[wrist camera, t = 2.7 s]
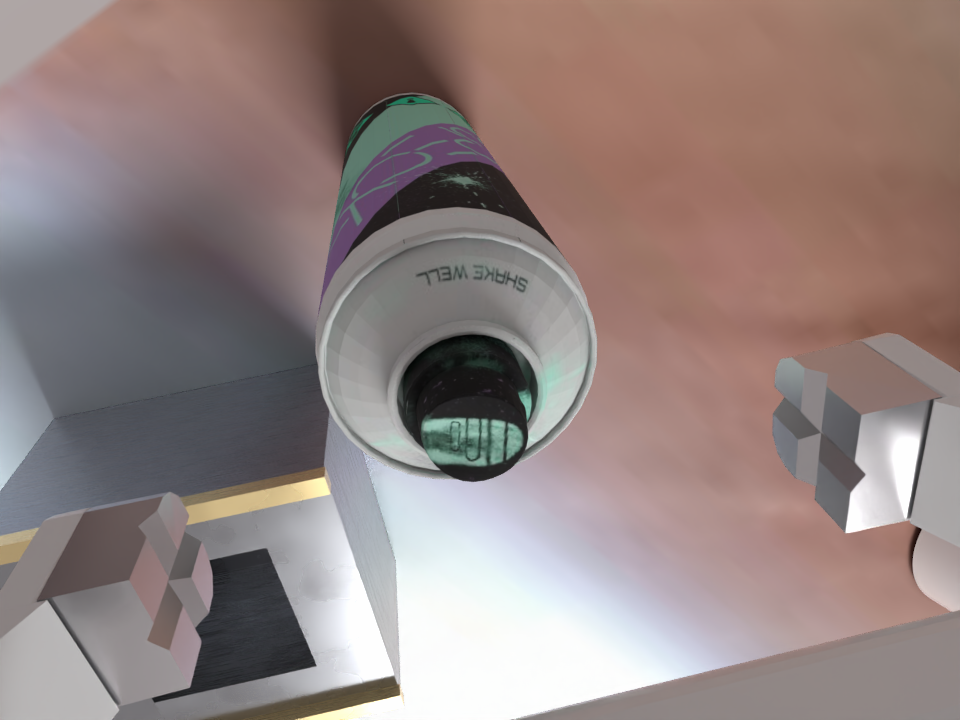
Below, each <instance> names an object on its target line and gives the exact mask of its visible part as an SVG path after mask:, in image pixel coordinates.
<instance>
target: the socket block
mask: <svg viewBox="0 0 960 720" xmlns="http://www.w3.org/2000/svg"><path fill="white" fill-rule="evenodd" d="M166 492H172V493H174V494H176V495H178V496H179V497H180V499H181V501H182V503H183V505H184V507H185V508H186V510H187V512H188V514H189V518H188V522H187V525H186V528H185V531H184V532H186V533H188V534H189V535H191V536H193V537H195V538H196V539H198V540H200V541H202V543H203V546H204V548H205V550H206V552H207V554H208V557H209V561H210V565H211V569H212V576H213V597H212V601H211V606H210V610H209V613H208V614H207V616H206V617H205V618H204V619H203V620H202V621H201V622H200V623H199V624H198V625H197V626H196V627H195V629H196V631H197V633H198V635H199V637H200V639H201V641H202V643H201V647H200V651H199V654H198V658H197V662H196V666H195V670H194V674H193V678H192V682H191V686H190V688H187V689H183V690H179V691H176V692H172V693H168V694H164V695H160V696H157V697H153V698H149V699H145V700H142V701H138V702H134V703H130V704H126V705H123V706H119V707H118V708H119V711H118V713H117V714H116V715H115V716H114V718H113V719H112V720H349V719H354V718H358V717H362V716H367V715H371V714H376V713H380V712H384V711H389V710H393V709H397V708H402V707H404V698H403V692H402V689H401V687H400V662H399V636H398V610H397V584H396V560H395V557H394V554H393V551H392V547H391V544H390V541H389V537H388V534H387V531H386V527H385V524H384V521H383V518H382V514H381V511H380V508H379V504H378V501H377V498H376V495H375V491H374V488H373V485H372V481H371V478H370V475H369V472H368V468H367V465H366V462H365V458H364V455H363V452H362V450H361V449H360V448H359V447H357V446H356V445H355V444H354V443H353V442H352V441H351V440H350V439H348V438H347V436H346V435H345V434H344V432H343V431H342V430H341V428H340V427H339V426H338V424H337V423H336V422H335V420H334V419H333V417H332V415H331V413H330V411H329V408H328V406H327V404H326V402H325V400H324V398H323V394H322V389H321V384H320V379H319V374H318V364H315V365H311V366H306V367H301V368H296V369H291V370H286V371H282V372H277V373H272V374H267V375H262V376H257V377H252V378H248V379H243V380H238V381H233V382H228V383H223V384H219V385H214V386H209V387H204V388H199V389H194V390H190V391H185V392H180V393H175V394H170V395H165V396H161V397H156V398H151V399H146V400H141V401H136V402H132V403H127V404H122V405H117V406H112V407H107V408H103V409H98V410H93V411H88V412H83V413H78V414H74V415H69V416H64V417H59V418H54V420H53V421H52V422H51V424H50V425H49V427H48V428H47V429H46V431H45V432H44V433H43V435H42V436H41V437H40V439H39V440H38V441H37V443H36V444H35V445H34V447H33V448H32V449H31V451H30V452H29V453H28V455H27V456H26V457H25V459H24V460H23V461H22V463H21V464H20V466H19V467H18V468H17V470H16V471H15V472H14V474H13V475H12V476H11V478H10V479H9V480H8V482H7V483H6V484H5V486H4V487H3V488H2V490H1V491H0V590H1V589H2V587H3V586H4V584H5V582H6V581H7V579H8V578H9V576H10V574H11V573H12V571H13V569H14V568H15V566H16V565H17V563H18V561H19V560H20V558H21V556H22V555H23V553H24V552H25V550H26V548H27V547H28V545H29V544H30V542H31V540H32V539H33V537H34V535H35V534H36V532H37V531H38V529H39V527H40V526H41V524H42V522H43V521H44V520H46V519H48V518H50V517H52V516H54V515H58V514H63V513H67V512H71V511H76V510H80V509H85V508H93V507H95V506H100V505H105V504H110V503H115V502H120V501H126V500H131V499H136V498H141V497H146V496H151V495H156V494H161V493H166Z"/></svg>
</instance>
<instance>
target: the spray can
mask: <svg viewBox="0 0 960 720" xmlns="http://www.w3.org/2000/svg"><path fill="white" fill-rule="evenodd" d="M315 353H316V358H317V363H318V374H319V379H320V384H321V389H322V394H323V398H324V400H325V402H326V404H327V406H328V408H329V411H330V413H331V415H332V417H333V419H334V420H335V422H336V423H337V424H338V426H339V427H340V428H341V430H342V431H343V432H344V434H345V435H346V436H347V438H348V439H350V440H351V441H352V442H353V443H354V444H355V445H356V446H357V447H359V448H360V449H361V450H362V451H363V452H364V453H365V454H367V455H369V456H370V457H372V458H374V459H376V460H377V461H379V462H381V463H382V464H384V465H386V466H388V467H391V468H393V469H396V470H399V471H402V472H404V473H407V474H410V475H416V476H421V477H426V478H432V479H458V480H462V481H470V482H476V481H484V480H487V479H491V478H494V477H496V476H499V475H501V474H503V473H505V472H506V471H508V470H509V469H511V468H512V467H513V466H514V465H516V464H518V463H520V462H522V461H524V460H526V459H528V458H530V457H532V456H533V455H535V454H536V453H537V452H539V451H540V450H542V449H543V448H545V447H546V446H547V445H549V444H550V443H551V442H552V441H553V440H554V439H555V438H556V437H557V436H558V435H559V434H560V433H561V432H562V431H563V430H564V429H565V428H566V427H567V426H568V425H569V424H570V422H571V421H572V419H573V418H574V416H575V415H576V414H577V412H578V411H579V409H580V408H581V406H582V404H583V402H584V400H585V398H586V395H587V393H588V391H589V389H590V387H591V384H592V380H593V375H594V371H595V367H596V362H597V336H596V331H595V326H594V321H593V317H592V313H591V311H590V309H589V307H588V304H587V299H586V295H585V293H584V291H583V289H582V286H581V284H580V282H579V280H578V278H577V275H576V273H575V272H574V270H573V269H572V268H571V266H570V265H569V263H568V262H567V261H566V259H565V258H564V256H563V255H562V254H561V252H560V251H559V249H558V248H557V247H556V245H555V244H554V242H553V241H552V240H551V238H550V237H549V235H548V234H547V233H546V231H545V230H544V228H543V227H542V226H541V224H540V223H539V221H538V220H537V219H536V217H535V216H534V214H533V213H532V212H531V210H530V209H529V207H528V206H527V205H526V203H525V202H524V200H523V199H522V198H521V196H520V195H519V193H518V192H517V191H516V189H515V188H514V186H513V185H512V184H511V182H510V181H509V179H508V178H507V177H506V175H505V174H504V172H503V171H502V170H501V168H500V167H499V165H498V164H497V163H496V161H495V160H494V158H493V157H492V156H491V154H490V153H489V151H488V150H487V149H486V147H485V146H484V144H483V143H482V142H481V140H480V139H479V137H478V136H477V135H476V133H475V132H474V130H473V129H472V128H471V126H470V125H469V124H468V122H467V121H466V120H465V118H464V117H463V116H462V115H461V114H460V113H459V112H458V111H457V110H456V109H455V108H453V107H452V106H451V105H449V104H447V103H446V102H444V101H442V100H441V99H439V98H436V97H433V96H430V95H427V94H421V93H413V92H412V93H401V94H396V95H393V96H390V97H387V98H384V99H383V100H381V101H379V102H377V103H376V104H374V105H373V106H372V107H370V108H369V109H368V110H367V111H366V112H365V113H364V114H363V115H362V116H361V118H360V119H359V120H358V122H357V123H356V125H355V126H354V129H353V131H352V133H351V135H350V137H349V140H348V144H347V148H346V153H345V159H344V165H343V171H342V177H341V183H340V189H339V194H338V200H337V206H336V212H335V218H334V224H333V230H332V236H331V242H330V248H329V254H328V259H327V265H326V271H325V277H324V283H323V289H322V295H321V301H320V307H319V313H318V319H317V324H316V349H315Z"/></svg>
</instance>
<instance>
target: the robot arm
mask: <svg viewBox="0 0 960 720" xmlns="http://www.w3.org/2000/svg"><path fill="white" fill-rule="evenodd" d="M775 387H776V389H777V390H778V391H779V392H780V393H781V394H782V395H783V396H784V399H783V400H782V402H781V403H780V405H779V406H778V407H777V409H776V410H775V412H774V413H773V437H774V441H775V445H776V448H777V452H778V454H779V456H780V458H781V460H782V462H783V463H784V465H785V467H786V468H787V469H788V470H789V471H790V472H791V474H792V475H793V476H794V477H795V478H796V479H799V480H801V481H804V482H806V483H809V484H811V485H814V486H816V491H815V500H816V502H817V503H818V504H819V505H820V506H821V507H822V508H823V509H824V510H825V511H826V512H827V514H828V515H829V516H830V517H831V518H832V519H833V520H834V521H835V522H836V523H837V524H838V526H839V527H840V528H841V529H842V530H843V531H844V532H845V533H849V532H854V531H859V530H864V529H869V528H874V527H878V526H883V525H888V524H893V523H898V522H903V521H907V520H910V523H911V524H913V525H915V526H917V527H919V528H921V529H922V530H921V532H920V534H919V537H918V539H917V542H916V545H915V549H914V554H913V563H912V564H913V574H914V578H915V581H916V583H917V585H918V587H919V588H920V589H921V591H922V592H923V593H924V594H925V595H926V596H927V597H929V598H930V599H932V600H933V601H935V602H937V603H938V604H940V605H942V606H943V607H945V608H946V609H948V610H949V611H951V612H950V613H946V614H941V615H937V616H933V617H929V618H925V619H921V620H917V621H913V622H909V623H905V624H900V625H896V626H892V627H888V628H884V629H880V630H876V631H872V632H868V633H864V634H859V635H855V636H851V637H847V638H843V639H839V640H835V641H831V642H827V643H823V644H818V645H814V646H810V647H806V648H802V649H798V650H794V651H790V652H786V653H781V654H777V655H773V656H769V657H765V658H761V659H757V660H753V661H749V662H745V663H740V664H736V665H732V666H728V667H724V668H720V669H716V670H712V671H708V672H704V673H699V674H695V675H691V676H687V677H683V678H679V679H675V680H671V681H667V682H663V683H659V684H655V685H650V686H646V687H642V688H638V689H634V690H630V691H626V692H622V693H618V694H614V695H610V696H606V697H602V698H598V699H593V700H589V701H585V702H581V703H577V704H573V705H569V706H565V707H561V708H557V709H553V710H549V711H545V712H540V713H536V714H532V715H528V716H524V717H520V718H516V719H512V720H960V372H959V371H957V370H955V369H954V368H952V367H950V366H949V365H947V364H946V363H944V362H942V361H941V360H939V359H938V358H936V357H934V356H933V355H931V354H930V353H928V352H926V351H925V350H923V349H921V348H920V347H918V346H917V345H915V344H913V343H912V342H910V341H909V340H907V339H905V338H904V337H902V336H900V335H898V334H892V333H884V334H880V335H876V336H872V337H868V338H864V339H861V340H857V341H853V342H851V343H847V344H843V345H839V346H834V347H830V348H826V349H822V350H818V351H813V352H809V353H805V354H801V355H797V356H792V357H788V358H784V359H780V362H779V364H778V366H777V369H776V375H775ZM188 518H189V514H188V512H187V510H186V508H185V507H184V505H183V503H182V501H181V499H180V497H179V496H178V495H176V494H174V493H172V492H166V493H161V494H156V495H151V496H146V497H141V498H136V499H131V500H126V501H120V502H115V503H110V504H105V505H100V506H95V507H93V508H85V509H80V510H76V511H71V512H67V513H63V514H58V515H54V516H52V517H50V518H48V519H46V520H44V521H43V522H42V524H41V526H40V527H39V529H38V531H37V532H36V534H35V535H34V537H33V539H32V540H31V542H30V544H29V545H28V547H27V548H26V550H25V552H24V553H23V555H22V556H21V558H20V560H19V561H18V563H17V565H16V566H15V568H14V569H13V571H12V573H11V574H10V576H9V578H8V579H7V581H6V582H5V584H4V586H3V587H2V589H1V590H0V720H112V719H113V718H114V716H115V715H116V714H117V713H118V711H119V708H118V707H119V706H123V705H126V704H130V703H134V702H138V701H142V700H145V699H149V698H153V697H157V696H160V695H164V694H168V693H172V692H176V691H179V690H183V689H187V688H190V686H191V682H192V678H193V674H194V670H195V666H196V662H197V658H198V654H199V651H200V647H201V643H202V641H201V639H200V637H199V635H198V633H197V631H196V629H195V627H196V626H197V625H198V624H199V623H200V622H201V621H202V620H203V619H204V618H205V617H206V616H207V614H208V613H209V610H210V606H211V601H212V597H213V576H212V569H211V565H210V561H209V557H208V554H207V552H206V550H205V548H204V546H203V543H202V541H200V540H198V539H196V538H195V537H193V536H191V535H189V534H188V533H186V532H184V531H185V528H186V525H187V522H188Z"/></svg>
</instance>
